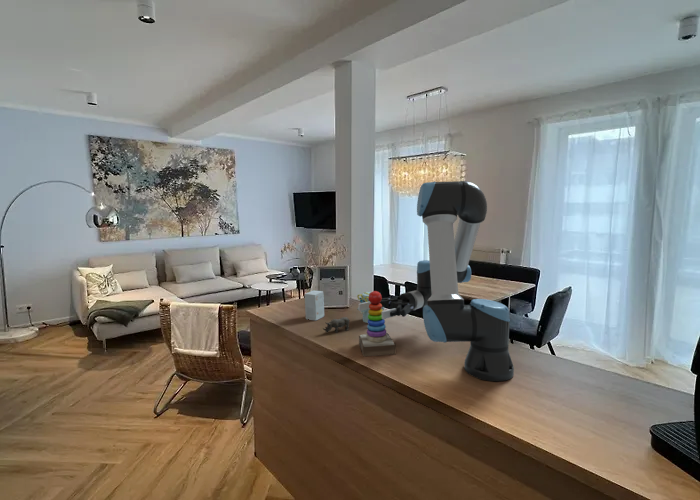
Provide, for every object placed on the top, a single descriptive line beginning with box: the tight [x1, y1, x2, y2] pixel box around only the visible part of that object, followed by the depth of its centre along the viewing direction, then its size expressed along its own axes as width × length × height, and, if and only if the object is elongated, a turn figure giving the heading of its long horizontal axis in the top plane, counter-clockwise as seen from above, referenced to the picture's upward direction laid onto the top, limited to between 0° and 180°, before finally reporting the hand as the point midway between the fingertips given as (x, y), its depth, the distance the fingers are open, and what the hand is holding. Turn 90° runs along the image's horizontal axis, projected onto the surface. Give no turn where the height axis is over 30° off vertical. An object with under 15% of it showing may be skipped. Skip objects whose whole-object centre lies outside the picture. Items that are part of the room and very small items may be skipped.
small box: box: [304, 289, 325, 321], centre depth 178 cm, size 8×6×13 cm
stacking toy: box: [366, 290, 387, 342], centre depth 136 cm, size 8×8×19 cm
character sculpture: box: [356, 291, 386, 324], centre depth 171 cm, size 20×12×13 cm, turn 34°
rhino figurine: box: [322, 316, 350, 334], centre depth 158 cm, size 4×14×6 cm, turn 121°
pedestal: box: [358, 332, 396, 357], centre depth 138 cm, size 12×12×4 cm
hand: (370, 311), depth 134 cm, fingers open, 13 cm apart
